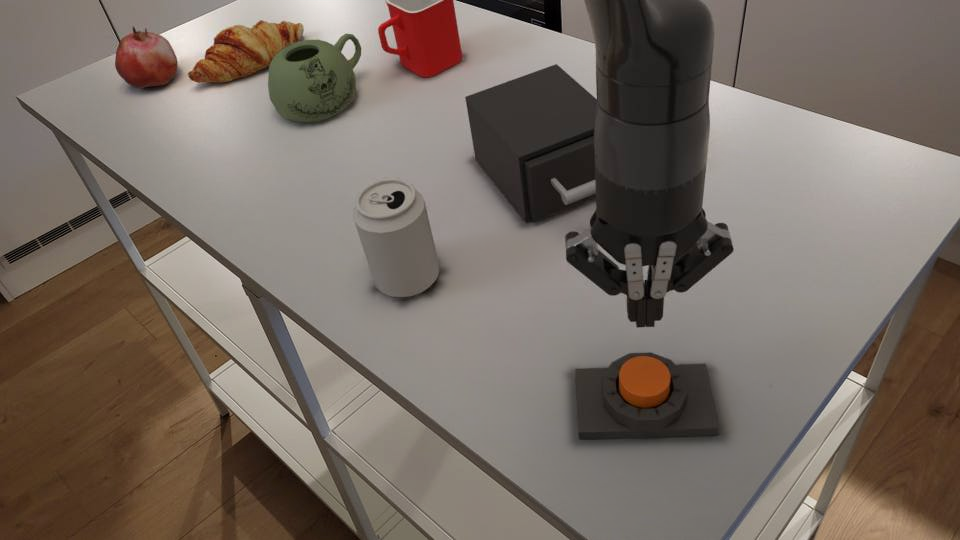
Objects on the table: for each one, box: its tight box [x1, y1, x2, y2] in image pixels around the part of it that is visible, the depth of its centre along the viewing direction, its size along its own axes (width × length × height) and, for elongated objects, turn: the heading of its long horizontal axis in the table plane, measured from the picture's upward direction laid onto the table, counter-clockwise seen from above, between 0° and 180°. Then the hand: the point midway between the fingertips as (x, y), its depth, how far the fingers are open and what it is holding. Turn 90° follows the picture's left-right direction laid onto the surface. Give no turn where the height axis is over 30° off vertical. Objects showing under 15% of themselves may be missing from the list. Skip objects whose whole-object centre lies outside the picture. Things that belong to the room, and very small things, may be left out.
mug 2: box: [377, 0, 463, 78], centre depth 114 cm, size 12×8×11 cm
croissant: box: [187, 19, 305, 84], centre depth 123 cm, size 21×10×8 cm, turn 134°
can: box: [352, 177, 440, 298], centre depth 80 cm, size 8×8×12 cm
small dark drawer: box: [524, 134, 596, 222], centre depth 89 cm, size 18×11×8 cm, turn 24°
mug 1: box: [267, 33, 362, 123], centre depth 111 cm, size 16×13×9 cm
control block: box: [574, 351, 720, 440], centre depth 68 cm, size 12×7×3 cm, turn 87°
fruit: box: [114, 26, 179, 89], centre depth 121 cm, size 9×10×10 cm
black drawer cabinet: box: [464, 63, 597, 224], centre depth 91 cm, size 15×13×10 cm
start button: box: [619, 356, 671, 408], centre depth 67 cm, size 4×4×2 cm
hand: (644, 319), depth 64 cm, fingers closed
